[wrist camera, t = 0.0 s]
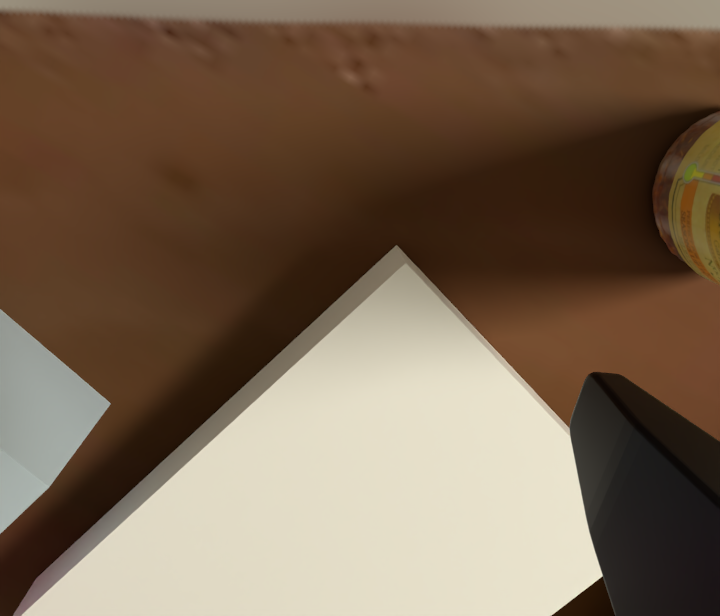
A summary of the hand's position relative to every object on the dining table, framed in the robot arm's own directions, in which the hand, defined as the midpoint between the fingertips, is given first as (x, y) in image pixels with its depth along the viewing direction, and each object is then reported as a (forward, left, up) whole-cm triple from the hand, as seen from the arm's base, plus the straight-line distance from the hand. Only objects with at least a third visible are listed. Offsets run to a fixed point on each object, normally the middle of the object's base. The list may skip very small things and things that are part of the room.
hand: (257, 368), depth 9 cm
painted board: (-8, -10, -15) cm, 20 cm away
